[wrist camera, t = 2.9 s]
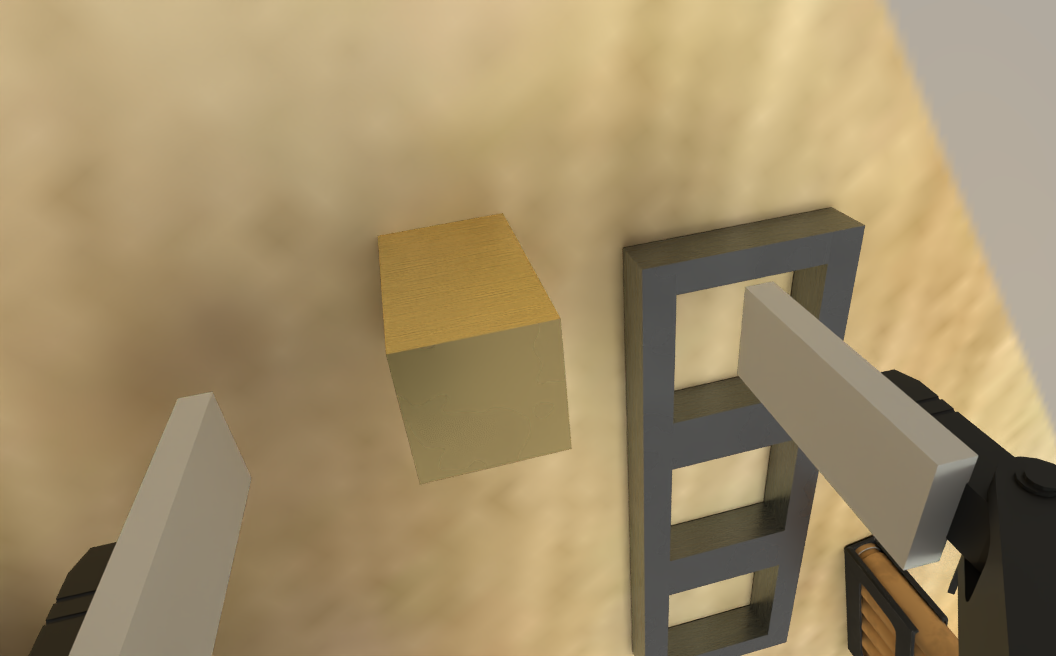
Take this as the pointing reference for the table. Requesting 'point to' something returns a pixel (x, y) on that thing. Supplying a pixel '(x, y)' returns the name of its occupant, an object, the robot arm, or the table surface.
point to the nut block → (471, 348)
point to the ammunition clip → (890, 608)
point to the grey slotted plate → (720, 432)
